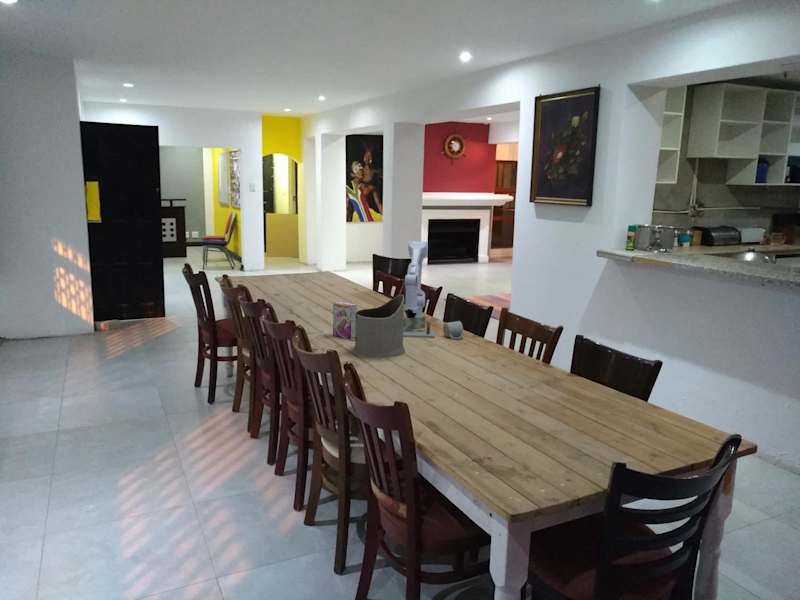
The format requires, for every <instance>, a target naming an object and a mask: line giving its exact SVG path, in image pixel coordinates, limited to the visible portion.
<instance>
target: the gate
mask: <svg viewBox="0 0 800 600" xmlns="http://www.w3.org/2000/svg"><path fill="white" fill-rule="evenodd" d="M425 326H426V316H423V315H422V317H415V318H407V317H406V318H403V331H413V330H414V331H415V330H420V329H425V328H426V327H425Z"/></svg>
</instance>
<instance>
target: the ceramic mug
mask: <svg viewBox="0 0 800 600" xmlns="http://www.w3.org/2000/svg"><path fill="white" fill-rule="evenodd" d="M442 329H443V335H444V336H445V338H450V339H452V340H453V341H454V340H455V341H459V340H461V339H462V337H463V335H464V327H463V323H462V321H461V320H456V321H449V322H446V323H444V325H443V328H442Z"/></svg>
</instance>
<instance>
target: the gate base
mask: <svg viewBox="0 0 800 600" xmlns="http://www.w3.org/2000/svg"><path fill="white" fill-rule="evenodd" d="M418 337H426V338H427V337H429V338H427V339H430V338H431V339H435V332H434V331H431V322H430V321H427V322H426V331H416V330H414V331H413V330H407V331H403V338H418ZM426 338H425V339H426Z"/></svg>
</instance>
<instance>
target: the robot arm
mask: <svg viewBox="0 0 800 600" xmlns="http://www.w3.org/2000/svg"><path fill="white" fill-rule="evenodd" d="M407 249H408V253H409V256H410V258H411V261H410V263H409V264H408V266H407V267H408V268H407V271H406V272H407V274H405V277H404V284H405V285H404V286H405V287H404V288H405V303H404V312H405V313H404V314H405V315H406V319H407V318H415V317H423V308H424V307H425V305H426V292H425V291H423V290H422V289H421V286H422V285H421V284H422V273H423V262H424V259H426V258H427V257H428V251H429V250H428V249H429V243H428V242H427V240H426V241H419V240H418V241H417V240H410V241H409V242H408V248H407Z"/></svg>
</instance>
